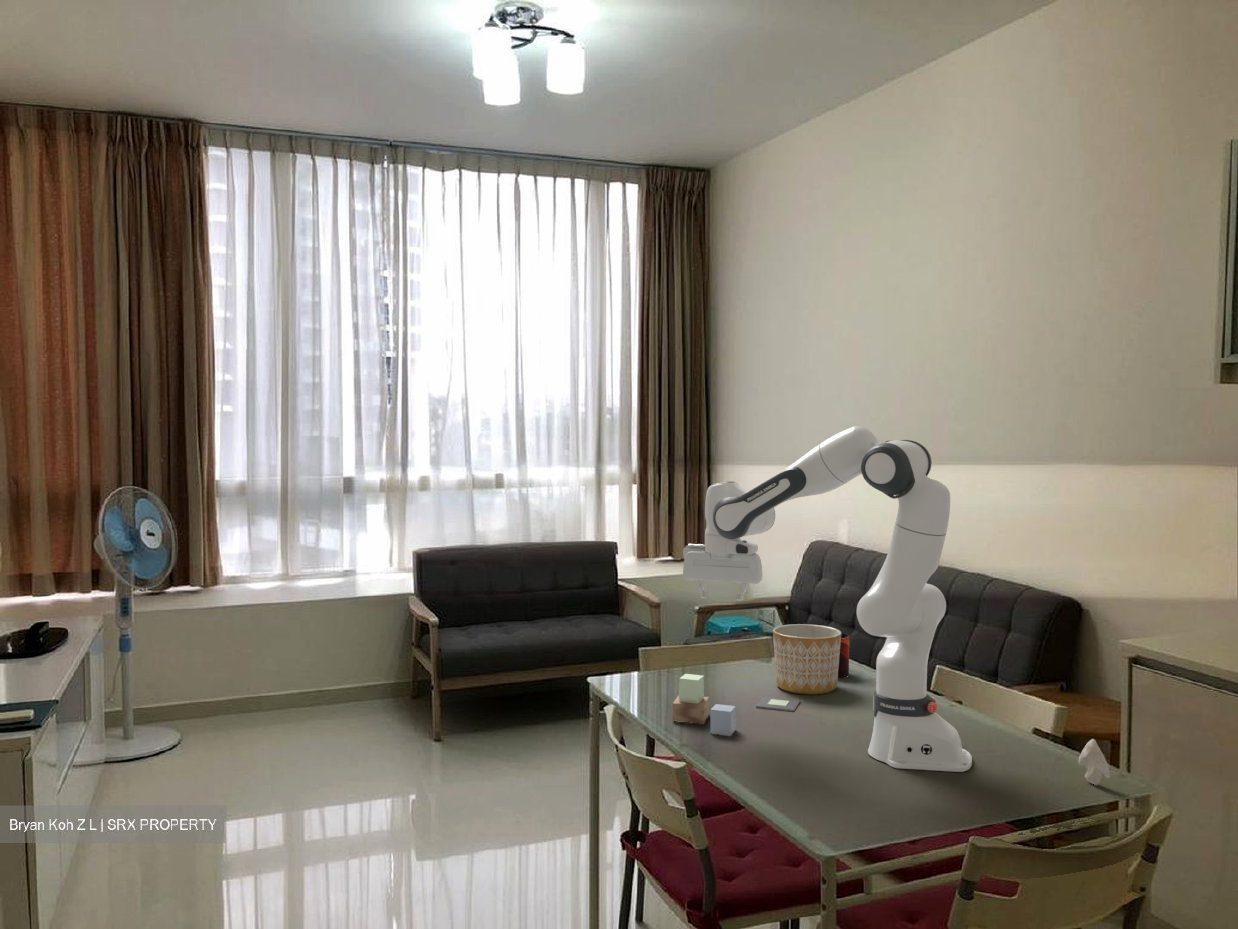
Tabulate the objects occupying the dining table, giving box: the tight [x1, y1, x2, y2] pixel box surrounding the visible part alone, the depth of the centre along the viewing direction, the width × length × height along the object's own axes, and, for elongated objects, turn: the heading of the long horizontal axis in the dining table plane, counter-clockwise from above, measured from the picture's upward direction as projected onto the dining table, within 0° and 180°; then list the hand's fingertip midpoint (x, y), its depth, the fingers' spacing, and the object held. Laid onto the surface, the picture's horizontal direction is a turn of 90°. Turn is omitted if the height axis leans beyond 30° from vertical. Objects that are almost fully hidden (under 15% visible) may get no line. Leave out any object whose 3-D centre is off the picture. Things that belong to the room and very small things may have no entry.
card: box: [755, 695, 801, 713], centre depth 259 cm, size 10×10×1 cm
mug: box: [837, 632, 850, 680], centre depth 293 cm, size 10×14×12 cm
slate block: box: [710, 703, 737, 737], centre depth 236 cm, size 5×5×6 cm
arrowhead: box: [1077, 738, 1111, 786], centre depth 200 cm, size 8×3×10 cm, turn 21°
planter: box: [772, 623, 842, 696], centre depth 276 cm, size 19×19×16 cm
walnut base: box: [672, 694, 710, 725], centre depth 246 cm, size 8×8×5 cm
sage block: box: [678, 673, 705, 704], centre depth 246 cm, size 5×5×6 cm
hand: (722, 599), depth 245 cm, fingers open, 8 cm apart
